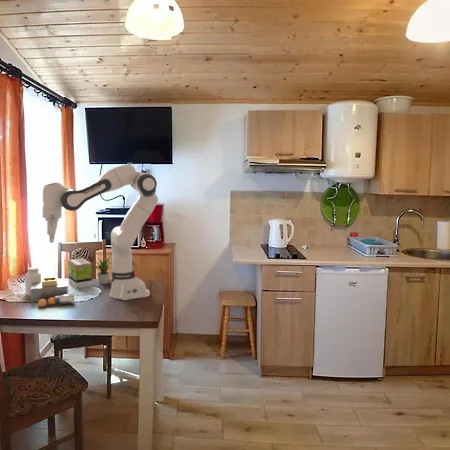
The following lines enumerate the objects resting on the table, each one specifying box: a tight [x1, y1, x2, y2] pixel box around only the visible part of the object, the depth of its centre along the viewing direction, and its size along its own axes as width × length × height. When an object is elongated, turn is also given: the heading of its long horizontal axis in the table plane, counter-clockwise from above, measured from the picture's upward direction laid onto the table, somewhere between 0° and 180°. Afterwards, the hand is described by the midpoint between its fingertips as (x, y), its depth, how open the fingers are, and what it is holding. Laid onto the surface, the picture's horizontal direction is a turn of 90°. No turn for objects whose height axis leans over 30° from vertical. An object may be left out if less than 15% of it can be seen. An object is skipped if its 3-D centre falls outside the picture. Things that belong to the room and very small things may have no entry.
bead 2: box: [47, 297, 57, 305], centre depth 208 cm, size 4×4×4 cm
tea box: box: [67, 258, 93, 290], centre depth 246 cm, size 15×10×15 cm, turn 39°
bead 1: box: [37, 299, 48, 307], centre depth 204 cm, size 4×4×4 cm
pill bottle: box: [24, 266, 42, 297], centre depth 225 cm, size 8×8×15 cm
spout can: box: [55, 293, 75, 305], centre depth 209 cm, size 9×5×5 cm, turn 111°
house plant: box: [92, 257, 112, 285], centre depth 252 cm, size 14×14×16 cm
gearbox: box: [30, 276, 69, 304], centre depth 218 cm, size 18×12×11 cm, turn 111°
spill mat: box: [37, 301, 75, 310], centre depth 208 cm, size 17×9×1 cm, turn 111°
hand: (52, 240), depth 207 cm, fingers open, 8 cm apart
